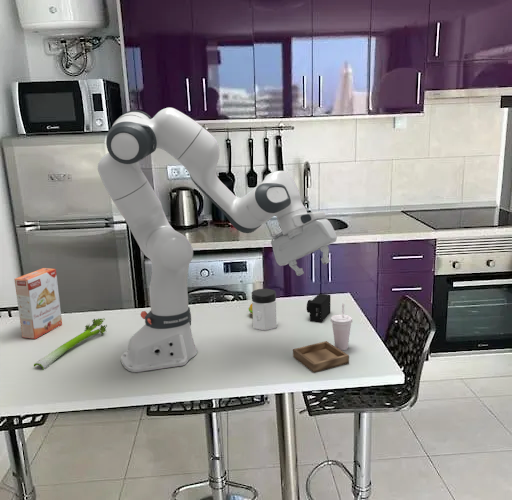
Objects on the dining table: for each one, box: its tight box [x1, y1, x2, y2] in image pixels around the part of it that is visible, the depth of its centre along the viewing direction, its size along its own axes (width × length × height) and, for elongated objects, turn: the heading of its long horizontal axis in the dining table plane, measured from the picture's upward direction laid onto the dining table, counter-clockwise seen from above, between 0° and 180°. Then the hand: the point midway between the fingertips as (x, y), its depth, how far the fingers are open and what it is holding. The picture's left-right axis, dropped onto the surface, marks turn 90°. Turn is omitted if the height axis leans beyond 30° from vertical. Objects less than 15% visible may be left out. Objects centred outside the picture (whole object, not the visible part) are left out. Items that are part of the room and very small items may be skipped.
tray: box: [292, 341, 350, 374], centre depth 154 cm, size 12×12×2 cm
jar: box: [251, 288, 277, 331], centre depth 180 cm, size 9×8×12 cm
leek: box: [33, 317, 108, 371], centre depth 168 cm, size 6×7×30 cm
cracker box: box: [13, 267, 63, 340], centre depth 182 cm, size 14×6×21 cm, turn 161°
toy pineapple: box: [248, 303, 253, 316], centre depth 191 cm, size 7×10×5 cm
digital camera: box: [306, 293, 331, 324], centre depth 187 cm, size 10×5×7 cm, turn 155°
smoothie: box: [330, 303, 353, 352], centre depth 160 cm, size 6×6×14 cm
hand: (313, 269), depth 151 cm, fingers open, 8 cm apart
